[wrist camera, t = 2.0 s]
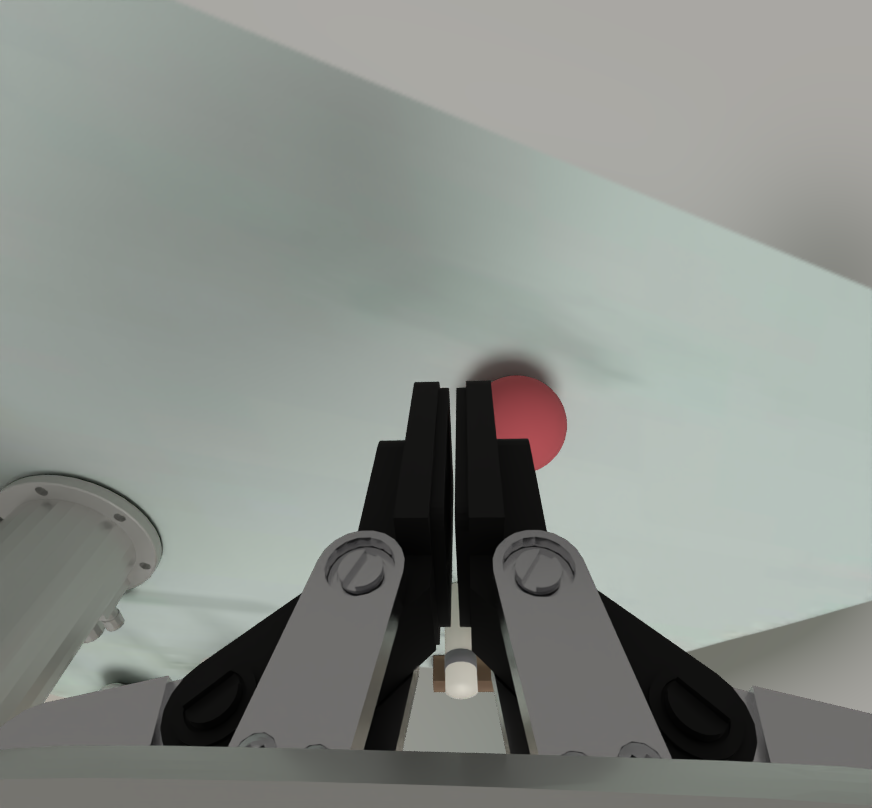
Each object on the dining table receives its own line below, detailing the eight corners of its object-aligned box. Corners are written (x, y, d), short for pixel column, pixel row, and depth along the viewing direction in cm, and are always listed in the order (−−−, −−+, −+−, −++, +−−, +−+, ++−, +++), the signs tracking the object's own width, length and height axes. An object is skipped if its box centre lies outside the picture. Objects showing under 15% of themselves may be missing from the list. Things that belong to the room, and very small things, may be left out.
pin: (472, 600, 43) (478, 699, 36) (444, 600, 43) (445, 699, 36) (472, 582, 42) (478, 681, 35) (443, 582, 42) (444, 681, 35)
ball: (551, 434, 33) (570, 494, 28) (464, 436, 34) (469, 495, 28) (560, 357, 30) (584, 408, 25) (465, 359, 30) (470, 410, 25)
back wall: (551, 665, 49) (556, 691, 47) (434, 666, 49) (433, 692, 47) (553, 654, 48) (559, 680, 46) (433, 655, 48) (433, 681, 46)
